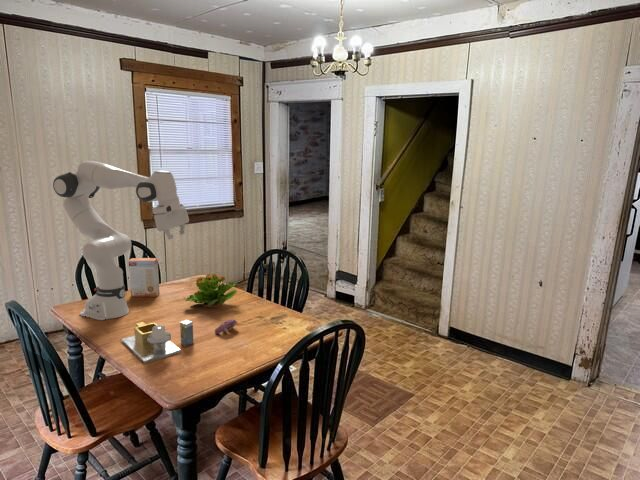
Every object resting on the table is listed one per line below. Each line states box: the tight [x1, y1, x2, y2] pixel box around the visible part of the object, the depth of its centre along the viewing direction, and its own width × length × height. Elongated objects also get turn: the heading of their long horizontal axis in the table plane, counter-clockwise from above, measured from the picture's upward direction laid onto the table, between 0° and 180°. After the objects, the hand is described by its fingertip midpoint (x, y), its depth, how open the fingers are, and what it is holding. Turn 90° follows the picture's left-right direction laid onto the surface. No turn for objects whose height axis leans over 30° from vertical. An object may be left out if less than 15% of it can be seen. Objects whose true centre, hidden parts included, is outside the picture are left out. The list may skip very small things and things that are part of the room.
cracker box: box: [128, 257, 161, 298], centre depth 236 cm, size 14×6×21 cm, turn 93°
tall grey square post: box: [179, 319, 194, 347], centre depth 183 cm, size 4×4×10 cm
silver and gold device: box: [121, 321, 182, 365], centre depth 178 cm, size 26×15×12 cm, turn 43°
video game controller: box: [214, 318, 238, 335], centre depth 196 cm, size 10×5×7 cm, turn 148°
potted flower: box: [183, 273, 238, 308], centre depth 227 cm, size 25×24×18 cm
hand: (176, 236), depth 194 cm, fingers open, 8 cm apart
